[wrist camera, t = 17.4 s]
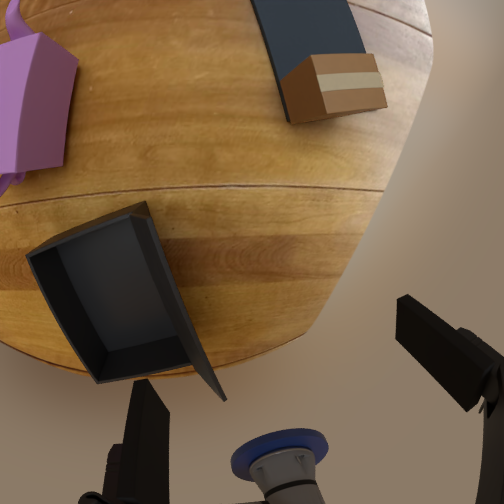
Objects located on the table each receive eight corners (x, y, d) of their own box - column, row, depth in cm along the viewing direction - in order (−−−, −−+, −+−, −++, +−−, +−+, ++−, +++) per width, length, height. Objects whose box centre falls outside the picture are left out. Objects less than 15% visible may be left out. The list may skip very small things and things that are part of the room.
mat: (377, 109, 29) (381, 108, 28) (287, 121, 28) (289, 120, 28) (334, -17, 23) (337, -21, 22) (244, -17, 22) (245, -21, 21)
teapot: (67, 188, 26) (3, 209, 15) (4, 189, 24) (-63, 210, 12) (95, 22, 20) (54, -29, 9) (28, 36, 18) (-25, 5, 7)
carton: (51, 237, 27) (25, 255, 22) (145, 200, 29) (132, 211, 23) (107, 352, 33) (96, 384, 27) (194, 331, 34) (195, 364, 28)
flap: (145, 218, 17) (151, 216, 17) (128, 214, 22) (133, 212, 22) (223, 402, 23) (227, 399, 23) (194, 368, 28) (197, 366, 28)
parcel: (341, 116, 28) (389, 107, 20) (290, 124, 28) (326, 113, 19) (330, 75, 26) (374, 53, 18) (278, 81, 26) (310, 54, 17)
